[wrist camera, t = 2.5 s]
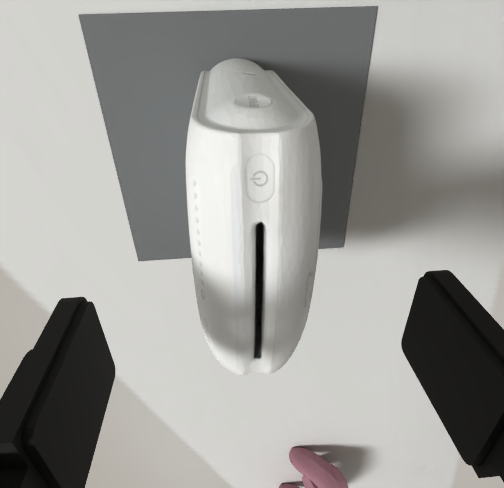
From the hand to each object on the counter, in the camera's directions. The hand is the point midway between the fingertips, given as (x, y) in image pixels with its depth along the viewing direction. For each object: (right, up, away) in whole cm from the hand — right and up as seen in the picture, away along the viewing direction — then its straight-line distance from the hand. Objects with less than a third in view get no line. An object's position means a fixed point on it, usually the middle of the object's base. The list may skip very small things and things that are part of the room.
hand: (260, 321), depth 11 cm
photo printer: (-1, +7, +10) cm, 13 cm away
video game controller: (+6, -24, +32) cm, 40 cm away
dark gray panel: (-1, +7, +10) cm, 13 cm away
